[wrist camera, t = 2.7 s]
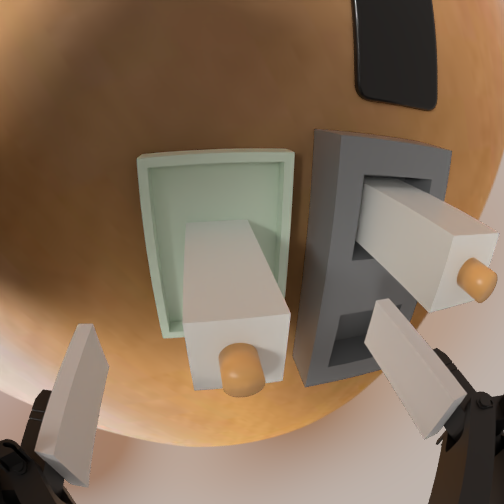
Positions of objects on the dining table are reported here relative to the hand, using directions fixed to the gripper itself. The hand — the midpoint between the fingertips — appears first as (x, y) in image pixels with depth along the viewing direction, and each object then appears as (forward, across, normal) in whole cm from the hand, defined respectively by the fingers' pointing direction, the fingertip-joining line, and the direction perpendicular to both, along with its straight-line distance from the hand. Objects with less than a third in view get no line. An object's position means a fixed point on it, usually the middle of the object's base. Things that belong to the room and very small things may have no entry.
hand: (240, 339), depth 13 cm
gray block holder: (+9, +11, -2) cm, 14 cm away
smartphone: (+10, +13, +19) cm, 25 cm away
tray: (+9, 0, 0) cm, 9 cm away
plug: (+9, 0, 0) cm, 9 cm away
